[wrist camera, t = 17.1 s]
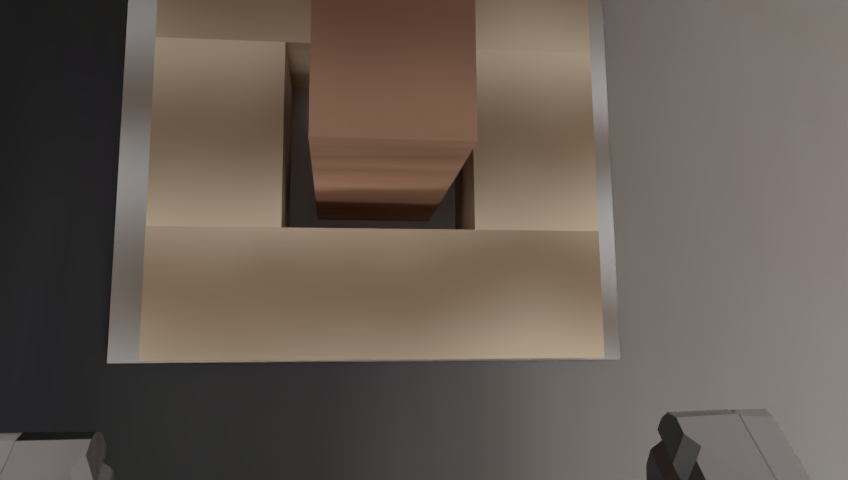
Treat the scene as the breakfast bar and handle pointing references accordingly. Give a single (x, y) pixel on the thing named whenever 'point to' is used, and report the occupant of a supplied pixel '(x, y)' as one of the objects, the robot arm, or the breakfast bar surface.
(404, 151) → the peg
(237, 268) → the grey open box frame
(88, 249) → the breakfast bar surface
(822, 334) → the breakfast bar surface
